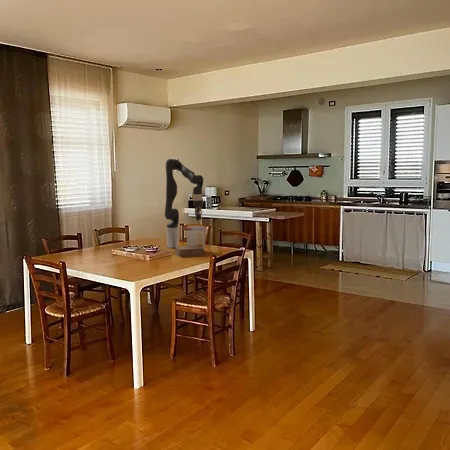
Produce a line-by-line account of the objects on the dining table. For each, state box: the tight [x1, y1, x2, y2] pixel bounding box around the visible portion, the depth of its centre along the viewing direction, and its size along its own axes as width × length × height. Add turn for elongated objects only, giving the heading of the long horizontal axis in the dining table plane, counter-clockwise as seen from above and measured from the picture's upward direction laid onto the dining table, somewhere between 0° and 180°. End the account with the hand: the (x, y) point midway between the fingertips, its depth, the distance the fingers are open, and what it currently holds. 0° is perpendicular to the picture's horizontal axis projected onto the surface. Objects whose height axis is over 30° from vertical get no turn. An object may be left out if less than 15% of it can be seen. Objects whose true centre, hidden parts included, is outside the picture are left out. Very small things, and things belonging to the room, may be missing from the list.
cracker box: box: [186, 225, 206, 253], centre depth 390 cm, size 14×6×21 cm, turn 84°
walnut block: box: [174, 245, 204, 258], centre depth 376 cm, size 14×19×6 cm
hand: (198, 219), depth 386 cm, fingers open, 8 cm apart
